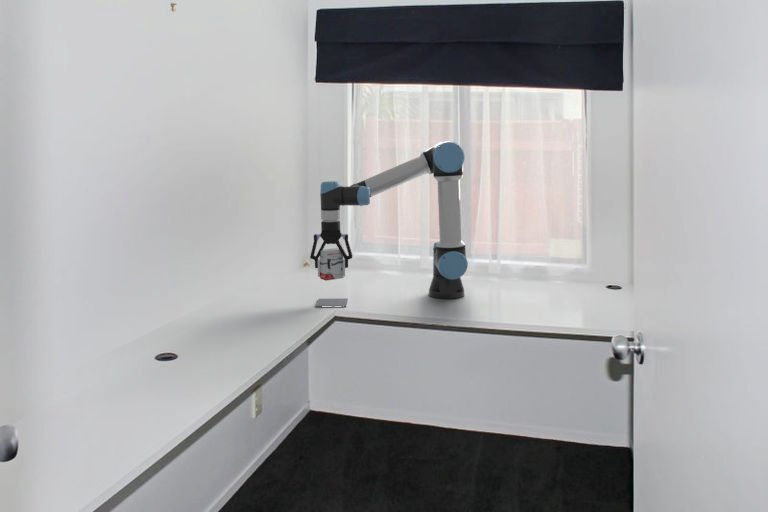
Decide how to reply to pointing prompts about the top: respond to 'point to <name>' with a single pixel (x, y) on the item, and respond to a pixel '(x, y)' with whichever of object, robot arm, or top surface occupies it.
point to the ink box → (331, 264)
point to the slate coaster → (332, 302)
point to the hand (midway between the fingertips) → (331, 275)
